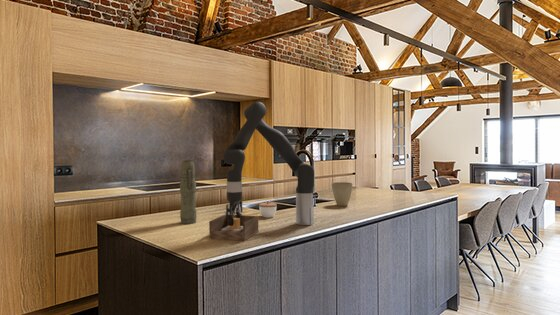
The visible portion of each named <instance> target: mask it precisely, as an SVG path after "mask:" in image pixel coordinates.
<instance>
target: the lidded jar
mask: <svg viewBox="0 0 560 315" xmlns="http://www.w3.org/2000/svg"><path fill="white" fill-rule="evenodd" d="M277 206H278V205H277V203H275V202H269V201H266V202H262V203H259V204H258V209H259V213H260V215H261V216H262V218H269V219H270V218H273V217H274V216H275V214H276V212H277Z"/></svg>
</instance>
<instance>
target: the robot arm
mask: <svg viewBox="0 0 560 315" xmlns="http://www.w3.org/2000/svg"><path fill="white" fill-rule="evenodd" d="M266 114H267V107H266V105H265V104H264V103H263V102H260V101H254V102H252V103H251V104H250V105H249V106H247V107H246V108H245V109H244V111H243V115H244V117H245V119H246V121H245V123H243V125H242V127H241V128H240V129H239V131H238V132H237V134H236V136H235V137H234V140H233V142H231V143H230V145H228V147H226V149H225V150H224V152H223V155H222V160H223V161H224V163H225V164H227V165H234V166H233V168H229V169H228V170H227V171H226V200H227V202H229V204H226V205H225V209H226V210H225V211H226V217H228V218H229V226H233V217H234V215H236V218H240V214H243V201H242V200H243V184H242V182H243V181H242V174H243V172H242V171H243V169H244V163H245V160H246V155H245V152H244V151H245V150H246V149H247V148H248V145H249V143H250V140H251V139H252V136H253V134H254V133H255V130H256V131H257V132H258V133H259V134H260V135H261V136H262V137H263V138H264V140H266V141H267V143H268V144H269V145H270V146H271V148H272V149H273V150H274V151H275V153H277V154H278V156H280V158H281V159H282V160H283V161H284V162H285V163H286V164H287V165H288V166H289V168H290V169H291V171H292V173H293V174H294V175H295V177H296V178H297V186H296V188H295V222H296V223H295V224H296V225H299V226H312V225H313V224H314V222H315V220H314V219H315V217H314V216H315V214H314V213H315V212H314V209H315V208H314V207H315V206H314V196H313V195H314V194H313V192H314V187H315V170H314V167H313V166H312V165H311V164H309V163H305V162H304V161H303V160H302V159H301V158H300V157H299V156H298V154H297V153H296V151H295V149H294V147H293V145H292V143H291V142H290V141H289V139H288V138H287V137H286V136H285V134H284V133H283V132H281V131H279V130H278V129H276V128H273V127H272V126H270V125H268V124H267V123H266V122H265V120H264V117H265V116H266ZM228 213H229V214H228Z"/></svg>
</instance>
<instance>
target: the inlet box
mask: <svg viewBox="0 0 560 315" xmlns="http://www.w3.org/2000/svg"><path fill="white" fill-rule="evenodd" d="M236 215H237V214H234V217H233V218H236ZM208 223H209V228H208V230H209V233H208V234H209V237H208V238H209V239H217V240H218V239H219V240H229V241H243V242H246V241H247V240H249V239H250V238H251V237H253V236H255V235H256V234H258V233H259V216H258V215H247V214H244V215H243V214H242V215H240V228H239V229H229V218H228V217H226V214H225V213H224V214H223V215H221V216H219V217H216V218H213V219H212V220H209V222H208Z"/></svg>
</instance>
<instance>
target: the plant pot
mask: <svg viewBox="0 0 560 315" xmlns="http://www.w3.org/2000/svg"><path fill="white" fill-rule="evenodd" d="M353 185H354V183H353V182H347V181H344V182H343V181H339V182H337V181H336V182H331V189H332V194H333V198H334V200H335V204H336V206H338V207H346V206H348V205H349V202H350V198H351V196H352V190H353Z"/></svg>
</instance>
